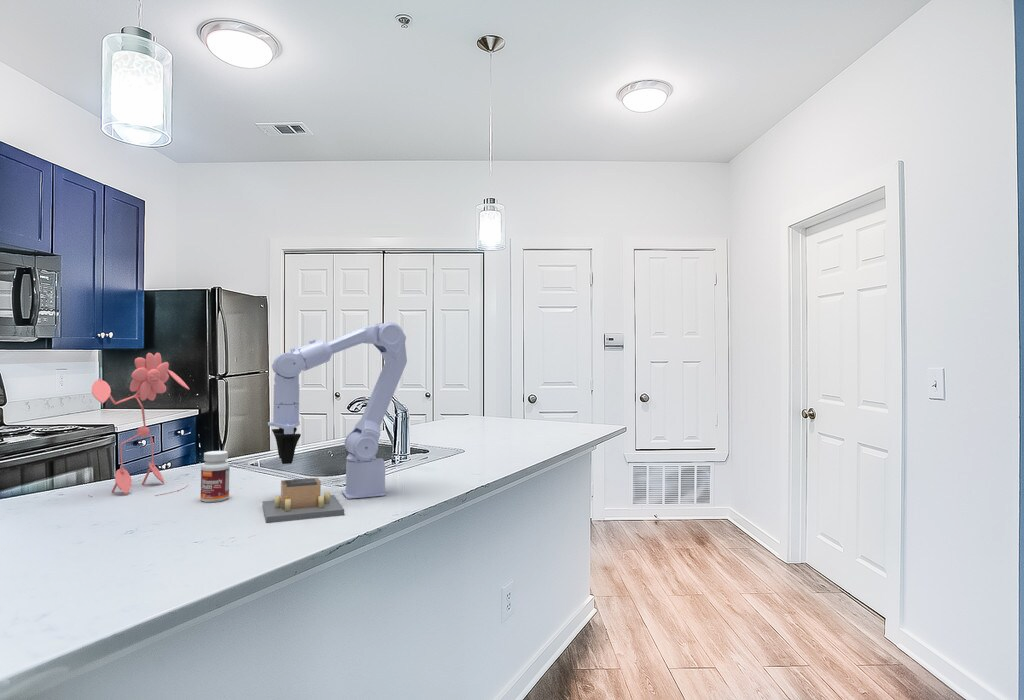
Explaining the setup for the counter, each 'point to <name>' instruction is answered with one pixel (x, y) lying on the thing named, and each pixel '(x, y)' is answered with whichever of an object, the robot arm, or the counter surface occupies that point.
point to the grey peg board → (301, 509)
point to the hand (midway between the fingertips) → (285, 460)
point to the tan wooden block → (300, 492)
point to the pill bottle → (215, 477)
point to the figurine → (148, 384)
